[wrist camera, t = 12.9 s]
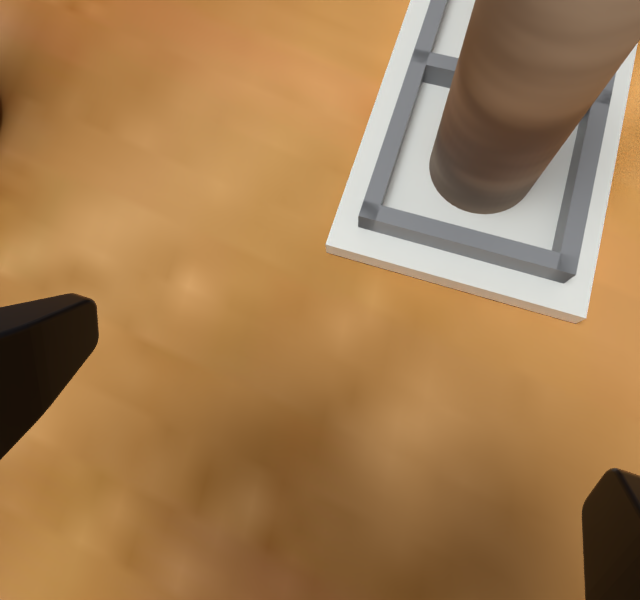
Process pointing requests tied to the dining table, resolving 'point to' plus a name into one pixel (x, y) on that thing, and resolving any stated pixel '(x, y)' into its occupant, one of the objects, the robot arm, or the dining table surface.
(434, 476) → the dining table surface
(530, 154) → the billet
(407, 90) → the pallet board
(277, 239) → the dining table surface
